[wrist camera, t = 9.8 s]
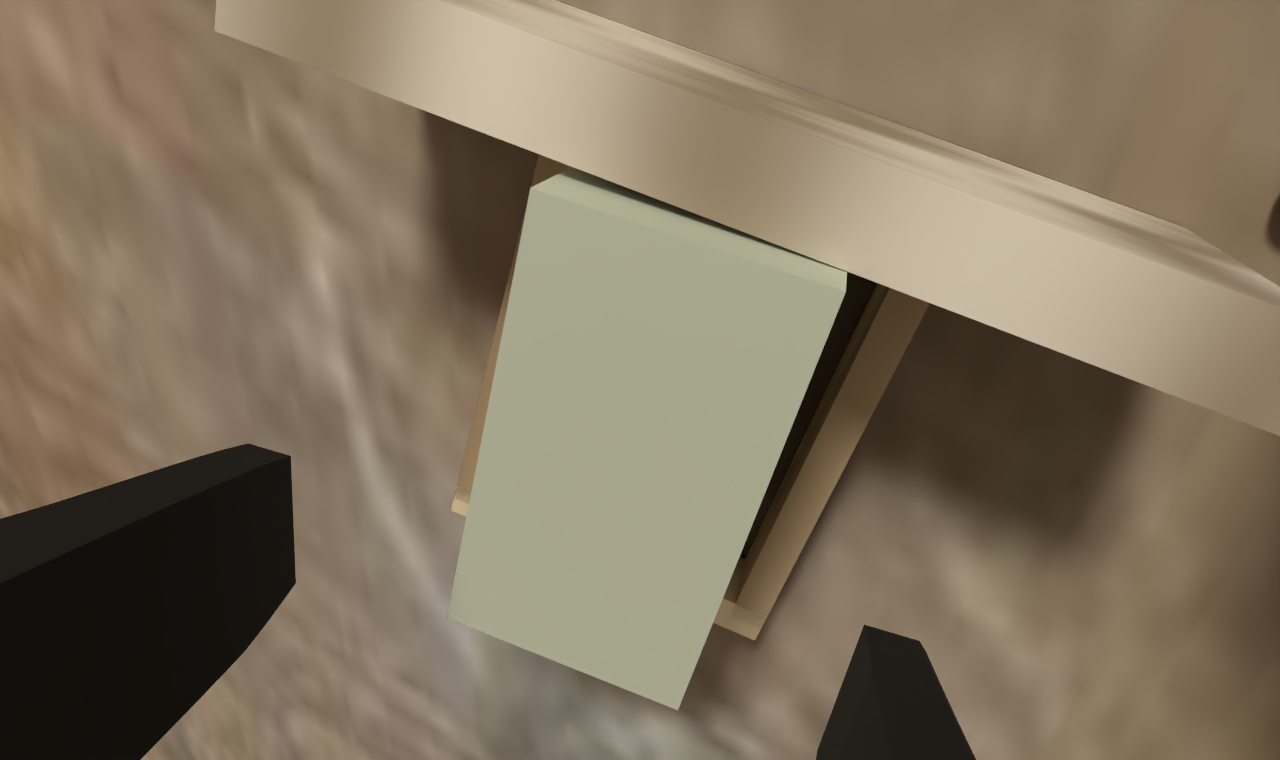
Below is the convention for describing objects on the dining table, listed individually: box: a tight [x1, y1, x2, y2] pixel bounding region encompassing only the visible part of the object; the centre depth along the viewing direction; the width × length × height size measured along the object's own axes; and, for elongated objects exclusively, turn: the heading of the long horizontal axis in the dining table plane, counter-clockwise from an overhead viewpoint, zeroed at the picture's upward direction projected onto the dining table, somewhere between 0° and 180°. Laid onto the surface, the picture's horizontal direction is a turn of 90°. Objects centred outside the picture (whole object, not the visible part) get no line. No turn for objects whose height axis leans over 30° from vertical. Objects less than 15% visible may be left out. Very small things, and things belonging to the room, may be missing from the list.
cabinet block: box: [447, 167, 847, 710], centre depth 16 cm, size 4×8×7 cm, turn 165°
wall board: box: [215, 0, 1280, 641], centre depth 16 cm, size 16×12×6 cm
